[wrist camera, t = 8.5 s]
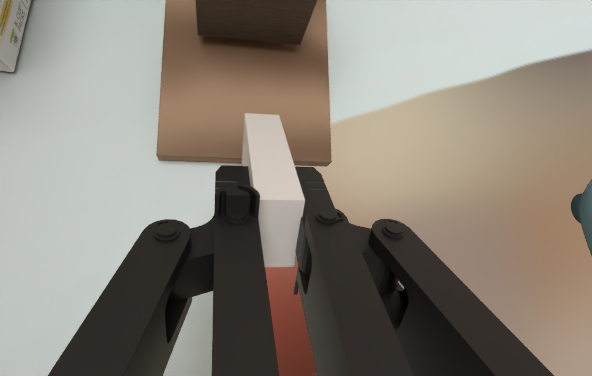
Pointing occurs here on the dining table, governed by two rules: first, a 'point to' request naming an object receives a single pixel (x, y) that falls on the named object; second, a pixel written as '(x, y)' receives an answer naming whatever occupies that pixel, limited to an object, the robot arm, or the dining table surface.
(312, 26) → the tube stand
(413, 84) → the dining table surface
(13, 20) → the tea box
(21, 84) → the dining table surface
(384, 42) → the dining table surface
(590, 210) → the teapot
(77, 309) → the dining table surface
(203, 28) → the grey piece
